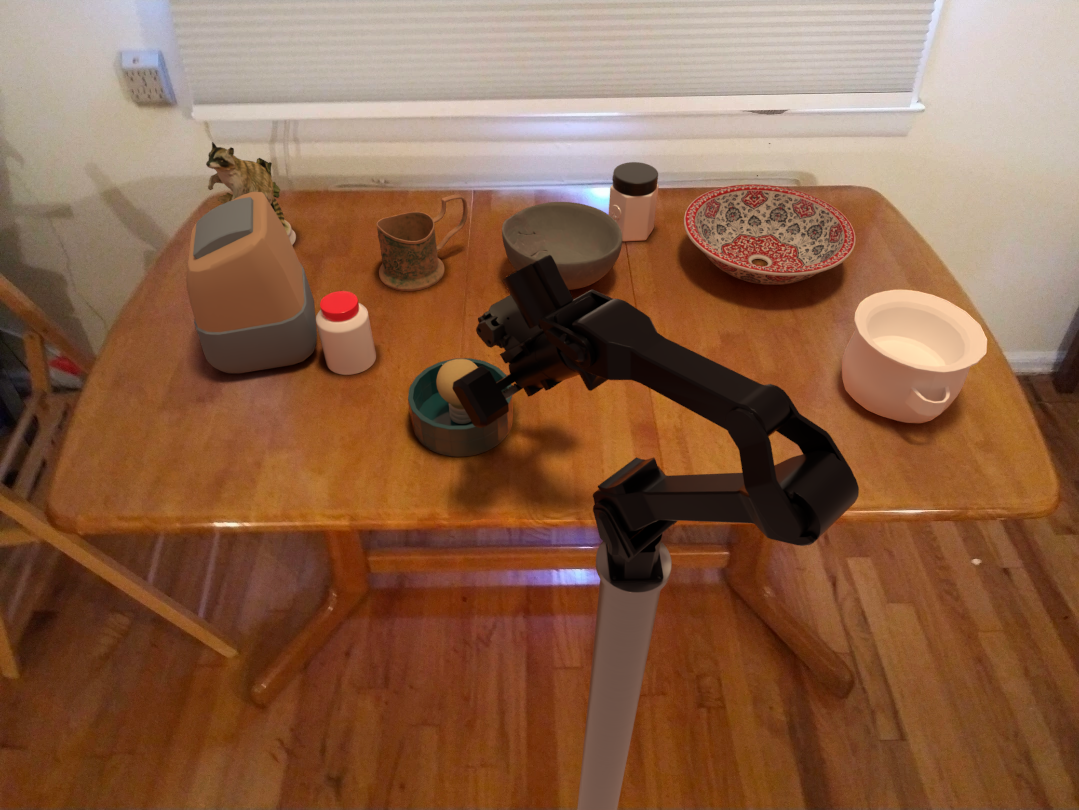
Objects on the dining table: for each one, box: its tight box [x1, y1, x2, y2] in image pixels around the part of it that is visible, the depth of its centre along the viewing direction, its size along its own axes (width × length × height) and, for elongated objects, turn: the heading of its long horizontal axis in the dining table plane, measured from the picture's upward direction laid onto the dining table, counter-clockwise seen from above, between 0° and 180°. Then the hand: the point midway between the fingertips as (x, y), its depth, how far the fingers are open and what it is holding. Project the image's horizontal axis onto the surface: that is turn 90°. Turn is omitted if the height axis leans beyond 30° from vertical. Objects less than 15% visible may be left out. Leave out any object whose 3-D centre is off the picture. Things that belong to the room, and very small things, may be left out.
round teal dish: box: [407, 357, 514, 458], centre depth 111 cm, size 14×14×6 cm
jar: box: [607, 161, 660, 242], centre depth 145 cm, size 9×8×12 cm
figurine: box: [205, 141, 297, 246], centre depth 139 cm, size 12×14×20 cm
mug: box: [375, 194, 469, 292], centre depth 136 cm, size 12×18×12 cm, turn 124°
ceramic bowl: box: [683, 183, 856, 286], centre depth 138 cm, size 29×29×8 cm
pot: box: [841, 289, 988, 424], centre depth 113 cm, size 22×17×12 cm
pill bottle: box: [315, 290, 377, 376], centre depth 118 cm, size 8×8×11 cm
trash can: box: [185, 192, 318, 374], centre depth 117 cm, size 17×17×23 cm
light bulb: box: [436, 358, 478, 424], centre depth 108 cm, size 6×6×10 cm
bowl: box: [501, 201, 623, 291], centre depth 134 cm, size 20×20×10 cm
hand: (495, 381), depth 101 cm, fingers open, 9 cm apart
